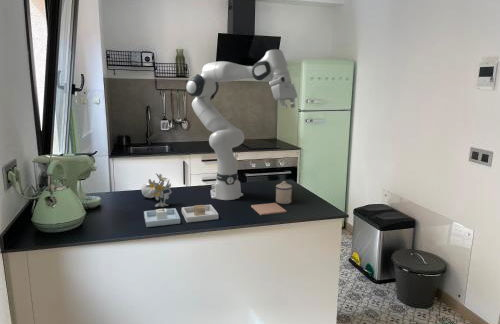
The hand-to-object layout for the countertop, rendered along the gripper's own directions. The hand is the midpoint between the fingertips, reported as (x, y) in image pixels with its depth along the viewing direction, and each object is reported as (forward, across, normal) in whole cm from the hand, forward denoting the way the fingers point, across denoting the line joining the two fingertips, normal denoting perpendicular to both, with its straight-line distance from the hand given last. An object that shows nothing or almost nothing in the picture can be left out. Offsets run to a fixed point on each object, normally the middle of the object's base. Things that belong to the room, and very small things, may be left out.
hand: (289, 108), depth 183 cm
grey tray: (+39, +34, -46) cm, 69 cm away
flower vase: (+28, +29, -79) cm, 88 cm away
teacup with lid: (+47, -10, -23) cm, 54 cm away
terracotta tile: (+47, +7, -23) cm, 53 cm away
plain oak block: (+39, +34, -45) cm, 69 cm away
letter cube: (+35, +48, -56) cm, 82 cm away
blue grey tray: (+36, +48, -57) cm, 82 cm away
